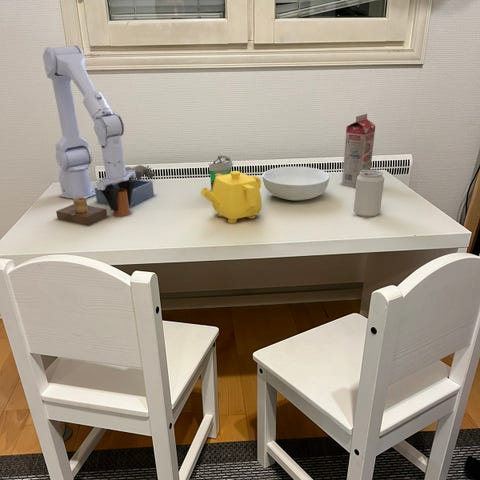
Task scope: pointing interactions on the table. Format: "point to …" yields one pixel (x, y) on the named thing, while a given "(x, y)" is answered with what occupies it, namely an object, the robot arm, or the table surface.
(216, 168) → the grey green irregular piece
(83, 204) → the tap knob
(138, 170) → the rhino figurine
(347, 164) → the juice carton
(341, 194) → the table surface
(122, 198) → the jar
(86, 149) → the robot arm
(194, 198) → the table surface
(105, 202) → the blue open tray
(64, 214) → the panel
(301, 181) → the serving bowl
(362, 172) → the can
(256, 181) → the teapot
